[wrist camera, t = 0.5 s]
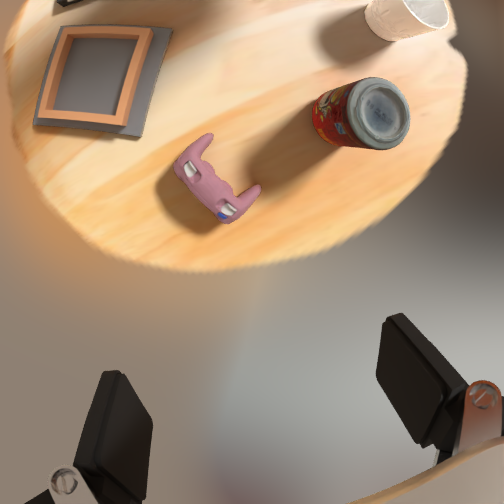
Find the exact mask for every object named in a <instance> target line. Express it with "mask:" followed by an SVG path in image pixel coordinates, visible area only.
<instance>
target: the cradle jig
mask: <svg viewBox="0 0 504 504" xmlns="http://www.w3.org/2000/svg"><path fill="white" fill-rule="evenodd" d="M172 32H173V30H172V29H170V28H161V27H150V26H136V25H71V26H61V28H60V30H59V33H58V35H57V38H56V41H55V43H54V46H53V49H52V52H51V55H50V58H49V61H48V64H47V68H46V71H45V74H44V78H43V82H42V85H41V89H40V93H39V97H38V101H37V106H36V110H35V115H34V120H33V125H44V126H57V127H69V128H79V129H88V130H96V131H104V132H112V133H119V134H126V135H133V136H139V137H142V134H143V129H144V125H145V121H146V117H147V113H148V109H149V105H150V102H151V98H152V94H153V91H154V87H155V84H156V81H157V77H158V74H159V71H160V67H161V64H162V61H163V58H164V55H165V52H166V49H167V46H168V43H169V41H170V38H171V35H172Z"/></svg>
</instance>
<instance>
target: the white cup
mask: <svg viewBox="0 0 504 504" xmlns="http://www.w3.org/2000/svg"><path fill="white" fill-rule="evenodd" d="M364 12H365V20H366V22H367V24H368V25H369V27H370V29H371V30H372V31H373V32H374V33H375V34H376V35H377V36H379V37H381V38H383V39H385V40H387V41H398V40H401V39H404V38H410V37H413V36H417V35H421V34H424V33H428V32H431V31H435V30H439V29H443V28H445V27H446V26H447V24H448V21H449V13H448V9H447V6H446V4H445V2H444V0H373V1H372V2H371V3H369V4H368V5H367V7H366V9H365V11H364Z"/></svg>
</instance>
